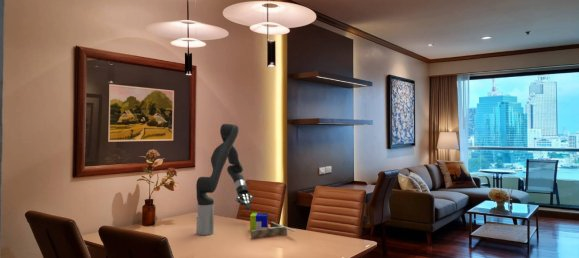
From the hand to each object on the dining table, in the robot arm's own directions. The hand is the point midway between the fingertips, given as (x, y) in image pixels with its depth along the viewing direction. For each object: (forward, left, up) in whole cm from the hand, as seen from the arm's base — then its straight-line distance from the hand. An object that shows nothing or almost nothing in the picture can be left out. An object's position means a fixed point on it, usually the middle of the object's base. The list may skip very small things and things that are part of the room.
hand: (248, 209), depth 265 cm
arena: (-1, -30, -10) cm, 32 cm away
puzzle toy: (0, -16, -11) cm, 19 cm away
